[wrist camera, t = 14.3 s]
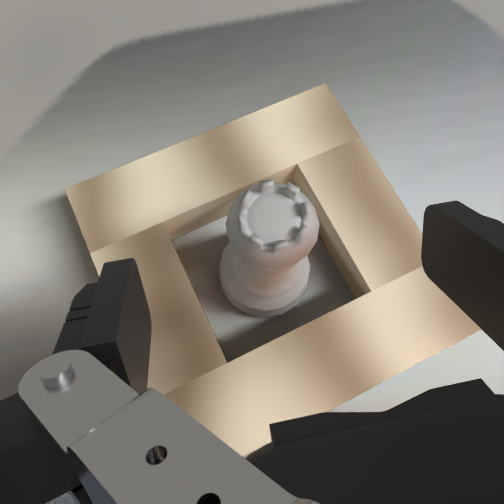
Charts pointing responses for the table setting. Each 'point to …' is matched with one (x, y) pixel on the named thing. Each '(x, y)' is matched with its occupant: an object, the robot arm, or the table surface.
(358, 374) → the wooden square ring
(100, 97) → the table surface
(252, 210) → the rook chess piece
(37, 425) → the robot arm
